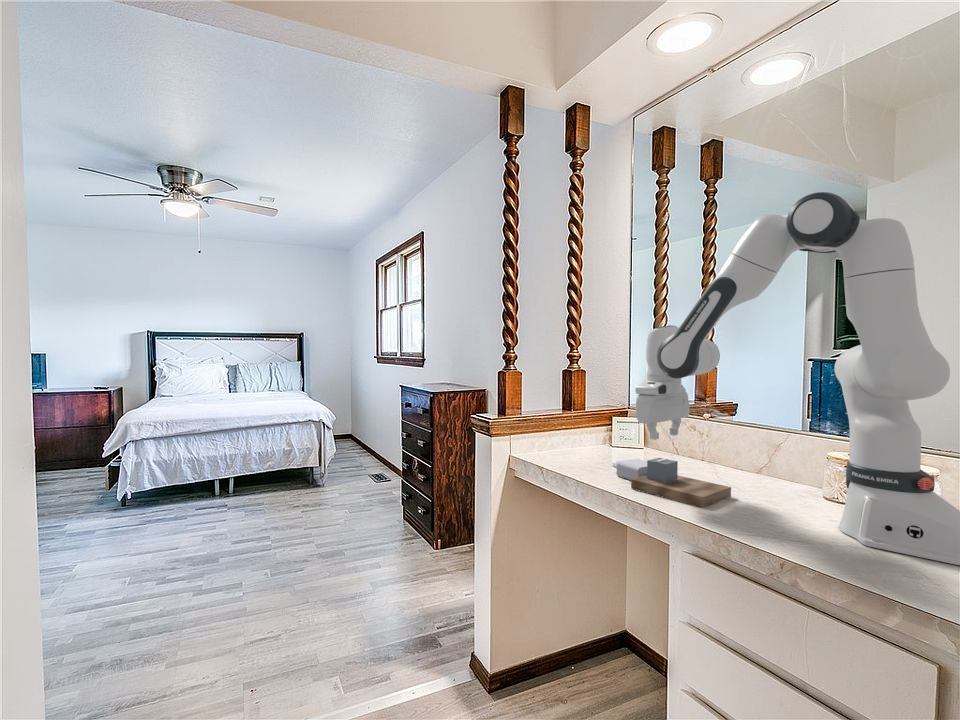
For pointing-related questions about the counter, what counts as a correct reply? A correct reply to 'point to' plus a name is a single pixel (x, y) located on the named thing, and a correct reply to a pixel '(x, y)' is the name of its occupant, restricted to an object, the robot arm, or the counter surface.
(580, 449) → the counter surface
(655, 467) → the blue-grey cube block
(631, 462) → the charger
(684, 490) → the board
